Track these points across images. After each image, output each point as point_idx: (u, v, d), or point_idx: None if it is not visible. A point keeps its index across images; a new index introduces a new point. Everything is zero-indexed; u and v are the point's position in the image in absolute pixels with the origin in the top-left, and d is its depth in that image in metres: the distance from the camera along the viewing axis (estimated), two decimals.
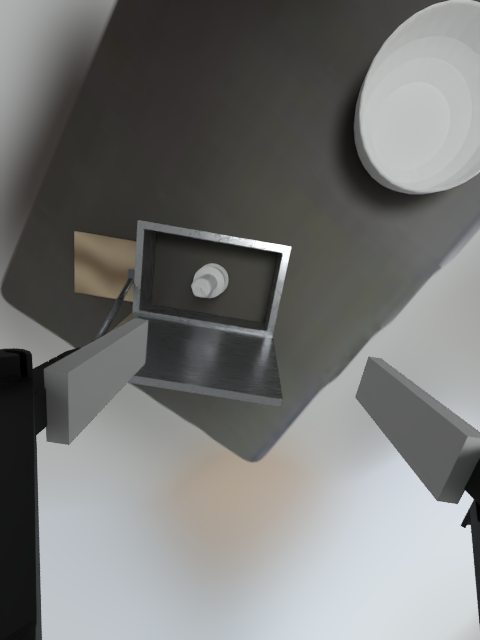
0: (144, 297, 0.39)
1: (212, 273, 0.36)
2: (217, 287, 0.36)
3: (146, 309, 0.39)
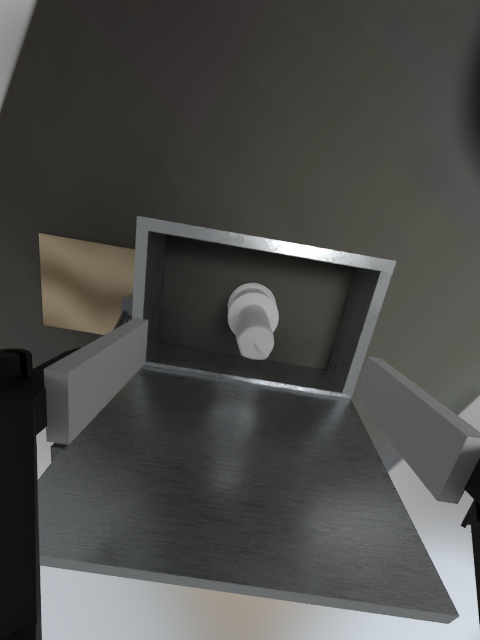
0: (148, 337, 0.25)
1: (260, 303, 0.22)
2: None
3: (151, 356, 0.25)
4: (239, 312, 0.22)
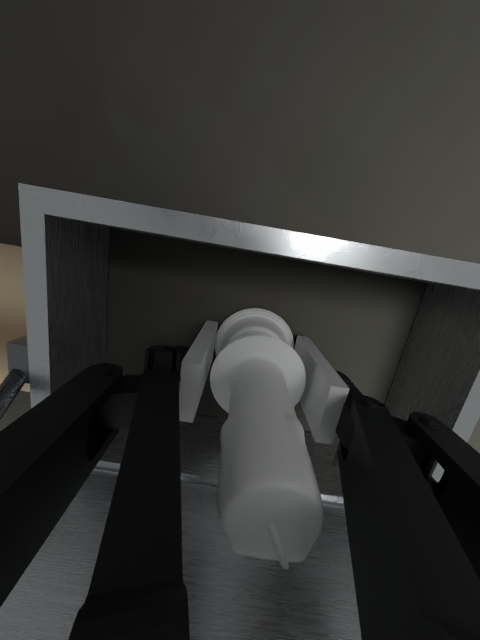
0: None
1: (271, 356, 0.11)
2: None
3: None
4: (231, 372, 0.12)
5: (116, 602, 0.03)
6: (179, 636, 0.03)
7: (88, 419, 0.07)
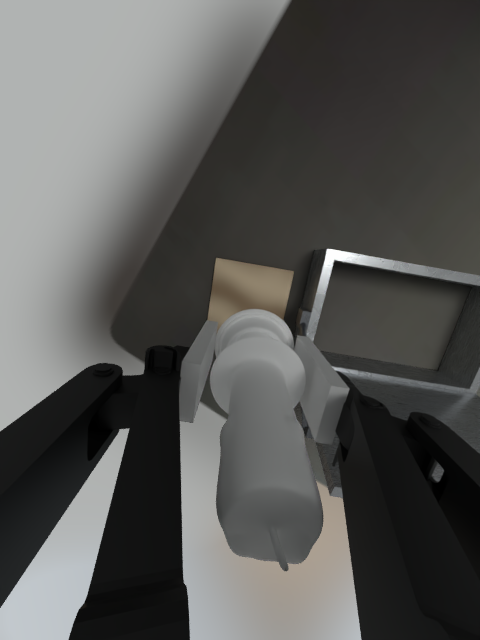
0: None
1: (271, 357, 0.11)
2: None
3: None
4: (231, 373, 0.12)
5: (116, 602, 0.03)
6: (179, 636, 0.03)
7: (87, 419, 0.07)
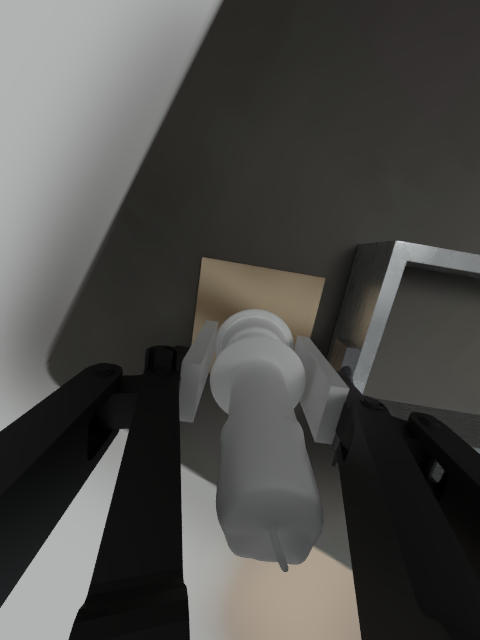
0: None
1: (271, 357, 0.11)
2: None
3: None
4: (231, 373, 0.12)
5: (116, 602, 0.03)
6: (179, 636, 0.03)
7: (87, 419, 0.07)
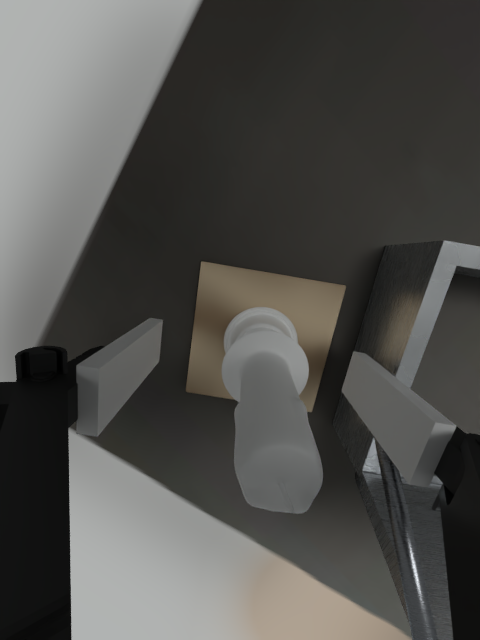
0: None
1: (277, 349, 0.13)
2: None
3: None
4: (241, 364, 0.13)
5: None
6: None
7: None
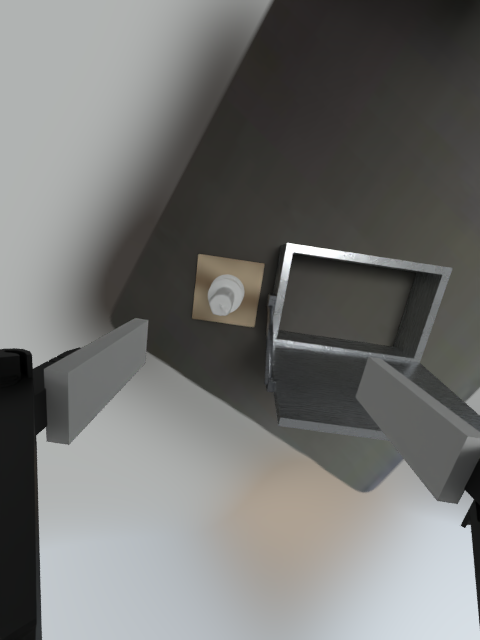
0: None
1: (229, 286, 0.33)
2: (234, 301, 0.33)
3: (279, 337, 0.36)
4: (215, 292, 0.33)
5: None
6: None
7: None
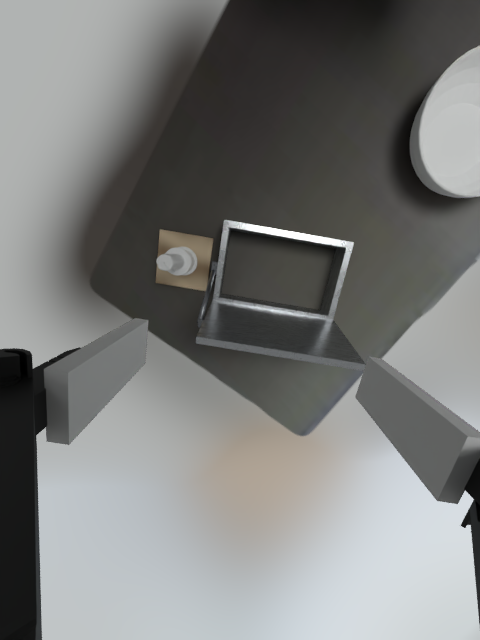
0: (221, 286, 0.45)
1: (179, 253, 0.41)
2: (184, 266, 0.42)
3: (223, 297, 0.45)
4: None
5: None
6: None
7: None
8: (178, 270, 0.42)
